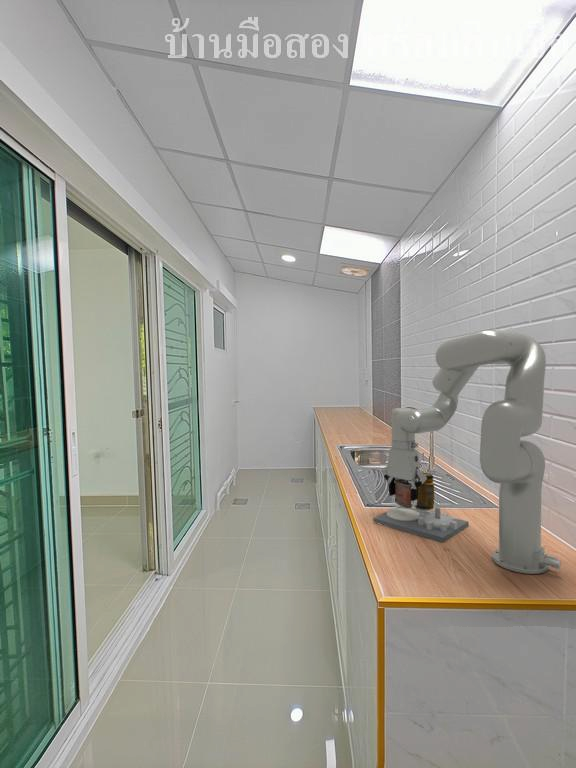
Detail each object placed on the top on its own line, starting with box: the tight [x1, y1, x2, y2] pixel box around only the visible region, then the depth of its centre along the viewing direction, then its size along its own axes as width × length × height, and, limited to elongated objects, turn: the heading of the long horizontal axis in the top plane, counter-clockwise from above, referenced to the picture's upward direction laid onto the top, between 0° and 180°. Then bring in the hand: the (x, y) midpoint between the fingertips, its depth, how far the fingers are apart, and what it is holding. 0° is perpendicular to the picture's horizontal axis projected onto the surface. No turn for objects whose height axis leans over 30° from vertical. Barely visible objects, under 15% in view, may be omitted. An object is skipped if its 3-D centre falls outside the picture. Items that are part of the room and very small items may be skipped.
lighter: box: [394, 478, 413, 508], centre depth 141 cm, size 8×3×10 cm, turn 17°
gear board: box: [372, 505, 470, 543], centre depth 137 cm, size 24×18×6 cm
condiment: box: [413, 472, 437, 512], centre depth 154 cm, size 7×8×12 cm
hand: (403, 497), depth 141 cm, fingers closed on lighter, 7 cm apart
